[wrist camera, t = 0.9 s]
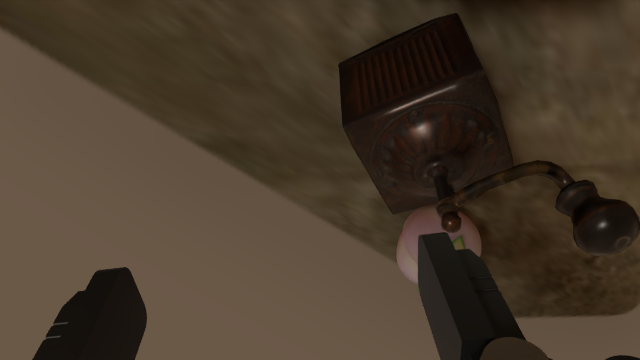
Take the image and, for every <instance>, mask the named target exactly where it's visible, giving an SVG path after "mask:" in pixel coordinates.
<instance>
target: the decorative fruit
mask: <svg viewBox="0 0 640 360" xmlns="http://www.w3.org/2000/svg"><path fill="white" fill-rule="evenodd" d="M436 204H437V203H432V204H428V205H424V206H421V207H419V208H417V209H416V210H414V211H413V212H412V213H411V214H410V215H409V216H408V218H407V219H406V221H405V223H404V226H403V231H402V232H401V234H400V237H399V241H398V246H397V263H398V266H399V268H400V270H401V271H402V272H403V274H404V275H405V276H406V277H407V278H408V279H409V280H411V281H412V282H414V283H416V284H418V237H419V235H423V234H432V233H441V232H447V231H445V230H443V229H442V226H441V218H440V217H439V216H438V214H437V211H436V208H435V207H436ZM458 215H459V216H460V218H461V228H460V230H459V231H458V232H456V233H448V232H447V233H448V235H449V237H450V239H451V241H452V243H453V245H454V248H455V250H460V249H470V250H471V251H473V252H474V253H475V254H476V255H477V256H479V257H480V255H481V238H480V235H479V232H478V230H477V228H476V226H475V225H474V224H473V222H472V221H471V220H470V219H469V218H468V217H467V216H466V215H465V214H464V213H462V212H461V211H459V212H458ZM417 291H418V292H419V287H418V289H417ZM419 293H420V292H419Z"/></svg>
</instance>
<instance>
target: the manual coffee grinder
mask: <svg viewBox="0 0 640 360" xmlns="http://www.w3.org/2000/svg"><path fill="white" fill-rule="evenodd" d="M338 66H339V74H340V95H341V110H342V125H343V128H344V130H345V132H346V134H347V136H348V138H349V140H350V142H351V144H352V146H353V148H354V150H355V152H356V153H357V155H358V157H359V158H360V160H361V162H362V164H363V165H364V167H365V169H366V170H367V172H368V174H369V176H370V177H371V179H372V181H373V183H374V184H375V186H376V188H377V190H378V191H379V193H380V195H381V196H382V198H383V199H384V201H385V203H386V204H387V206H388V208H389V209H390V211H391V212H392V214H397V213H400V212H404V211H407V210H411V209H414V208H418V207H421V206H424V205H428V204H432V203H437V204H436V207H435V208H436V211H437V214H438V216H439V217H440V218H441V226H442V229H443V230H445V231H447V232H448V233H456V232H458V231H459V230H460V228H461V218H460V216H459V215H458V212H459V208H460V207H462V206H463V205H465V204H466V203H468V202H469V201H471V200H472V199H475V198H477V197H478V196H479V195H481V194H482V193H484V192H485V191H488V190H490V189H492V188H494V187H497V186H499V185H502V184H504V183H507V182H510V181H513V180H516V179H518V178H521V177H524V176H531V175H539V176H546V177H548V178H550V179H551V180H553V181H554V182H555V183H556V184H557V185H558V186H559V188H560V189H561V191H560V193H559V195H558V197H557V200H556V206H555V208H556V209H557V210H558V211H560V212H561V213H563V214H565V215H568V216H569V217H571V219H572V223H573V238H574V241H575V243H576V245H577V246H578V247H579V248H581V249H582V250H584V251H585V252H587V253H589V254H592V255H594V256H604V255H611V254H615V253H620V252H621V251H623V250H624V249H626V248H627V247H629V246H630V245H631V244H632V243H633V241H634V240H635V239H636V238H637V236H638V234H639V231H640V220H639V217H638V215H637V213H636V212H635V210H634V208H633V207H631V206H630V205H629V204H628V203H627V202H625V201H621V200H616V199H605V198H602V197H600V196H599V194H598V193H597V189H596V187H595V185H594V183H593V182H591V181H588V180H582V181H578V182H575V181H574V180H573V178H572V177H571V176H570V175H569V174H568V173H567V172H566V171H565V170H564V169H563V168H562V167H561V166H559V165H556V164H554V163H552V162H548V161H540V160H537V161H532V162H528V163H524V164H520V165H517V166H514V167H513V158H512V154H511V150H510V147H509V143H508V140H507V136H506V133H505V129H504V126H503V122H502V118H501V114H500V110H499V106H498V102H497V100H496V97H495V95H494V93H493V90H492V88H491V86H490V84H489V81H488V79H487V77H486V74H485V72H484V70H483V68H482V65H481V63H480V61H479V59H478V57H477V56H476V54H475V52H474V50H473V47H472V43H471V41H470V39H469V37H468V35H467V32H466V30H465V28H464V26H463V24H462V22H461V20H460V17H459V15H458V14H457V13H454V14H450V15H446V16H443V17H439V18H435V19H433V20H431V21H428V22H426V23H424V24H421V25H419V26H417V27H414V28H412V29H410V30H408V31H405V32H403V33H401V34H399V35H396V36H394V37H392V38H390V39H388V40H385V41H383V42H381V43H379V44H377V45H375V46H373V47H371V48H369V49H367V50H365V51H363V52H361V53H359V54H357V55H355V56H353V57H351V58H349V59H347V60H345V61H343V62H341V63H339V65H338Z"/></svg>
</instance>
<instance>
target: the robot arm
mask: <svg viewBox="0 0 640 360" xmlns="http://www.w3.org/2000/svg"><path fill="white" fill-rule="evenodd" d="M418 286H419V292H420V296H421V300H422V303H423V306H424V309H425V313H426V316H427V319H428V321H429V325H430V328H431V331H432V334H433V337H434V340H435V343H436V346H437V349H438V353H439V356H440V359H441V360H552V359H550V358H548V357H547V355H546V354H545V353H544V352H543V351H542V350H541V349H540V348H538V347H537V346H535V345H534V344H532V343H530V342H528V341H527V340H526V339H525V337H524V336H523V334H522V332H521V330H520V328H519V326H518V324H517V323H516V321H515V319H514V317H513V315H512V313H511V311H510V309H509V307H508V306H507V304H506V302H505V300H504V298H503V296H502V294H501V292H500V291H498V287H497V285H496V283H495V281H494V279H493V278H492V277H491V274H490V272H489V270H488V268H487V266H486V264H485V262H484V260H482V259H481V258H480V257H479V256H477V255H476V254H475V253H474V252H473V251H471V250H470V249H460V250H455V248H454V245H453V243H452V241H451V239H450V237H449V235H448V233H447V232H441V233H432V234H423V235H419V237H418ZM146 322H147V313H146V308H145V305H144V302H143V300H142V298H141V295H140V293H139V291H138V288H137V286H136V283H135V281H134V279H133V276H132V274H131V272H130V270H129V269H128V268H126V267H123V268H114V269H105V270H98V271H97V272H95V274H94V275H93V277H92V279H91V280H90V283H89V284H88V286H87V288H86V290H85V291H78V292H77V293H76V294H75V295H74V296H73V297H72V298H71V299H70V300H69V301H68V302H67V303H66V304H65V305H64V306H63V307H62V309H61V310H60V312H59V314H58V316H57V317H56V319H55V321H54V323H53V324H54V325H53V326H52V327H51V328H50V330H49V331H48V333H47V335H46V340H44V341H43V342H42V344H41V345H40V347H39V349H38V351H37V352H36V354H35V356H34V358H33V359H32V360H135V357H136V354H137V352H138V348H139V346H140V343H141V340H142V337H143V334H144V331H145V328H146ZM606 360H640V359H639V358H636V357H632V356H622V355H619V356H613V357H609V358H607V359H606Z"/></svg>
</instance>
